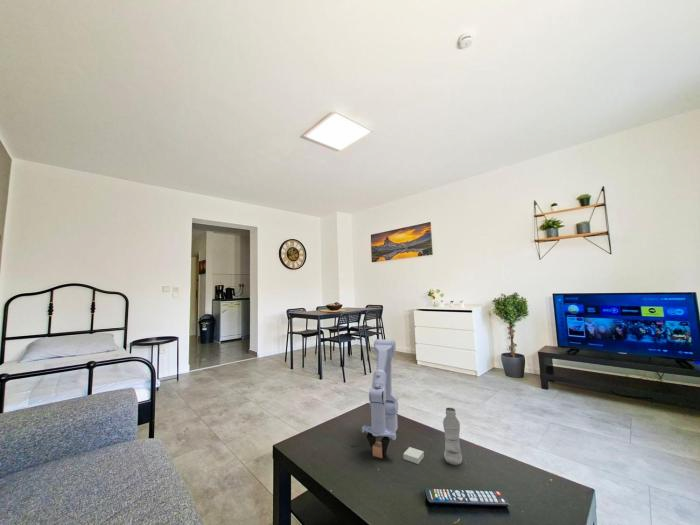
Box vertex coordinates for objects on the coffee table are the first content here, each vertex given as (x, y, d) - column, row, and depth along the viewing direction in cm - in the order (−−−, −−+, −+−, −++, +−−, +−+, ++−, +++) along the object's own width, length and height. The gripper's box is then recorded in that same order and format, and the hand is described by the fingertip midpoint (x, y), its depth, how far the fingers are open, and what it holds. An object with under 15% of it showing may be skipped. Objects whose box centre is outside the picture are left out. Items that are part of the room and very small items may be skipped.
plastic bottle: (441, 464, 107) (438, 409, 110) (449, 456, 112) (446, 404, 115) (458, 471, 103) (454, 414, 105) (465, 463, 108) (461, 408, 110)
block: (376, 454, 115) (376, 441, 116) (385, 456, 113) (385, 443, 114) (372, 459, 112) (372, 445, 112) (381, 461, 110) (381, 448, 110)
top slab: (409, 452, 114) (409, 446, 114) (423, 456, 110) (423, 451, 111) (403, 459, 109) (403, 453, 109) (418, 464, 106) (417, 458, 106)
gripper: (358, 418, 114) (358, 454, 113) (391, 426, 107) (392, 464, 106) (365, 412, 120) (366, 446, 119) (397, 419, 113) (398, 455, 112)
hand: (379, 454), depth 113 cm, fingers closed on block, 4 cm apart
